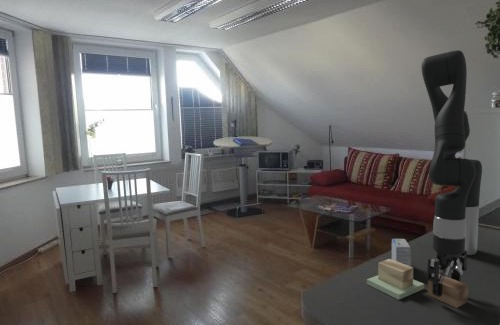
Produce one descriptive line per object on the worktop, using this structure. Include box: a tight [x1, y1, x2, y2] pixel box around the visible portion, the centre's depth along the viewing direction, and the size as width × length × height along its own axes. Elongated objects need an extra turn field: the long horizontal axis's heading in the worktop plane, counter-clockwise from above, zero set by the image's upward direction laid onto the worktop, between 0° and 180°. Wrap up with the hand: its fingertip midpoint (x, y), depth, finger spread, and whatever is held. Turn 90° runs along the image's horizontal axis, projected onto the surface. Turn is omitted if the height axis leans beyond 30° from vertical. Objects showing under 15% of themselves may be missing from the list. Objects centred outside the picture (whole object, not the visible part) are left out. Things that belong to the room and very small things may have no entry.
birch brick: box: [377, 258, 414, 289], centre depth 103 cm, size 5×8×5 cm, turn 32°
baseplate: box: [366, 274, 425, 300], centre depth 103 cm, size 11×11×2 cm
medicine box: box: [390, 238, 412, 267], centre depth 115 cm, size 8×4×9 cm, turn 168°
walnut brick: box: [427, 274, 469, 309], centre depth 95 cm, size 5×8×5 cm, turn 30°
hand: (446, 291), depth 96 cm, fingers open, 8 cm apart
